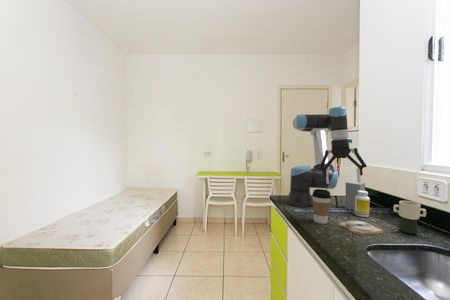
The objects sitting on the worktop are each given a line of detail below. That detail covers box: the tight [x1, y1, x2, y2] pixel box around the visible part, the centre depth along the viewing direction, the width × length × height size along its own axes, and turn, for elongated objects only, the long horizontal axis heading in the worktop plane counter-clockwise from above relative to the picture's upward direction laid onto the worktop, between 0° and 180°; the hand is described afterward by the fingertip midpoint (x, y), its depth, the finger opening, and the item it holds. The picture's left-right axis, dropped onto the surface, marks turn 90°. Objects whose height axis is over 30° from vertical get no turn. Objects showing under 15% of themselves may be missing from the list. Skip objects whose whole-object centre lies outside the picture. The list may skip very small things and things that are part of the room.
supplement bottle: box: [354, 190, 371, 218], centre depth 116 cm, size 7×7×13 cm
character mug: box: [393, 200, 427, 235], centre depth 95 cm, size 11×7×13 cm, turn 55°
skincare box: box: [345, 180, 366, 211], centre depth 126 cm, size 8×7×16 cm
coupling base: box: [338, 220, 384, 237], centre depth 98 cm, size 12×12×2 cm
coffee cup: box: [311, 188, 332, 225], centre depth 106 cm, size 8×8×15 cm
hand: (343, 183), depth 105 cm, fingers open, 13 cm apart
